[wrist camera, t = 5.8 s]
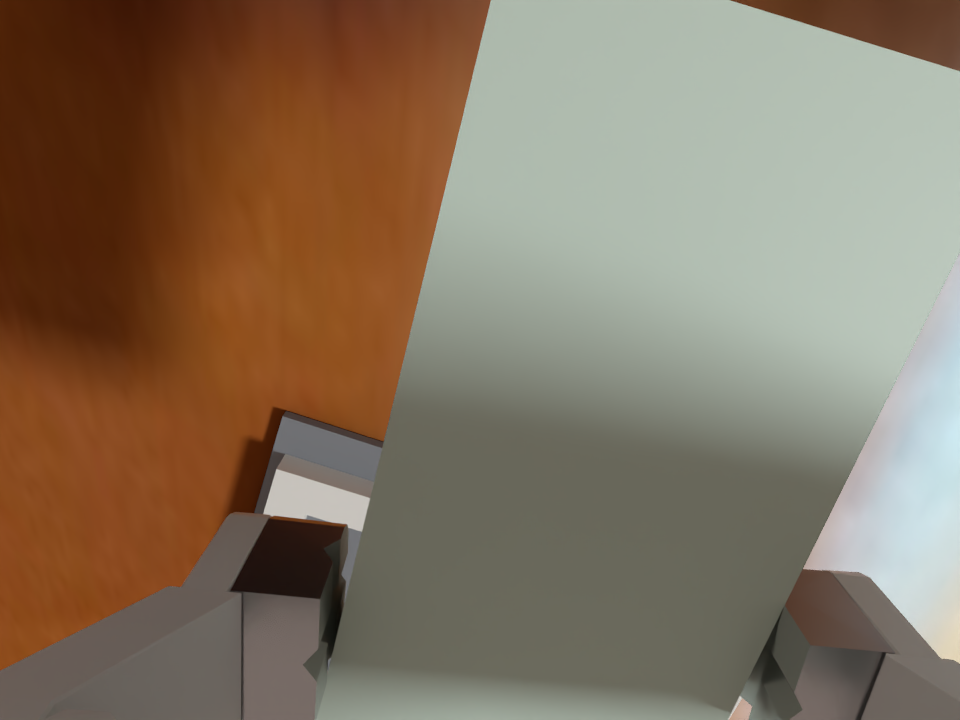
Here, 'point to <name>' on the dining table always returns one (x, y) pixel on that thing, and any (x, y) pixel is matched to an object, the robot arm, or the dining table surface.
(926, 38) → the dining table surface
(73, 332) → the dining table surface
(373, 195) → the dining table surface
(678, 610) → the pale green rectangular block
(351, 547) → the picture frame
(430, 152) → the dining table surface
